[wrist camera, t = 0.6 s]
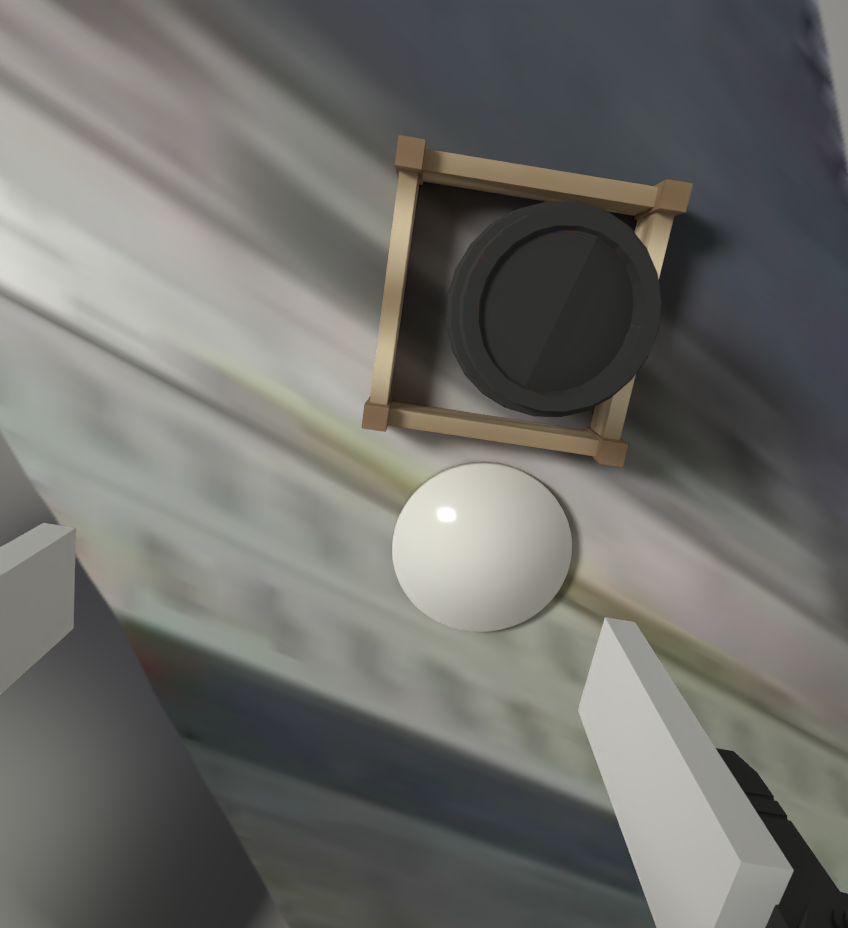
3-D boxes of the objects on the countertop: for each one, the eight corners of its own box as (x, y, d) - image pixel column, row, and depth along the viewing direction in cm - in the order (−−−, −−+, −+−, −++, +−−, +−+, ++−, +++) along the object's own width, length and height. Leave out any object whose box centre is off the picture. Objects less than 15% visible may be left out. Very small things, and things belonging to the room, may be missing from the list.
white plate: (406, 449, 38) (405, 451, 37) (586, 476, 39) (589, 479, 38) (381, 613, 41) (381, 618, 40) (549, 636, 42) (551, 642, 41)
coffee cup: (601, 275, 35) (720, 252, 21) (539, 401, 37) (608, 459, 23) (476, 215, 35) (508, 147, 20) (419, 347, 37) (411, 372, 22)
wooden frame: (402, 155, 34) (398, 135, 30) (663, 197, 34) (693, 183, 30) (368, 415, 38) (361, 428, 34) (603, 451, 38) (622, 467, 34)
